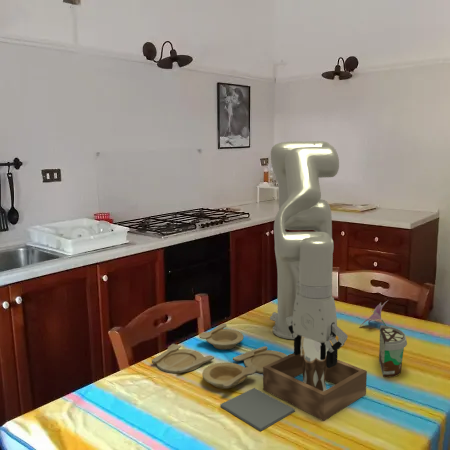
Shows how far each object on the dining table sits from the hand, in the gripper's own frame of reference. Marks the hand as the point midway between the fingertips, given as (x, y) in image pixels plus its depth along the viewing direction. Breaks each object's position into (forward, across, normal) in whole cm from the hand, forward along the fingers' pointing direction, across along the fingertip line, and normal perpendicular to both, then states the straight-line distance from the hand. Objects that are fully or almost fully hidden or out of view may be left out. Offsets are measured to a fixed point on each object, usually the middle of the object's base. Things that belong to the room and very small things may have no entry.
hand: (314, 359), depth 114 cm
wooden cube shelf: (+9, 0, 0) cm, 9 cm away
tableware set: (+9, -28, -5) cm, 29 cm away
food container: (+9, +6, +25) cm, 27 cm away
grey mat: (+9, -4, -15) cm, 18 cm away
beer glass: (+9, 0, 0) cm, 9 cm away
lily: (+8, -13, +48) cm, 50 cm away
